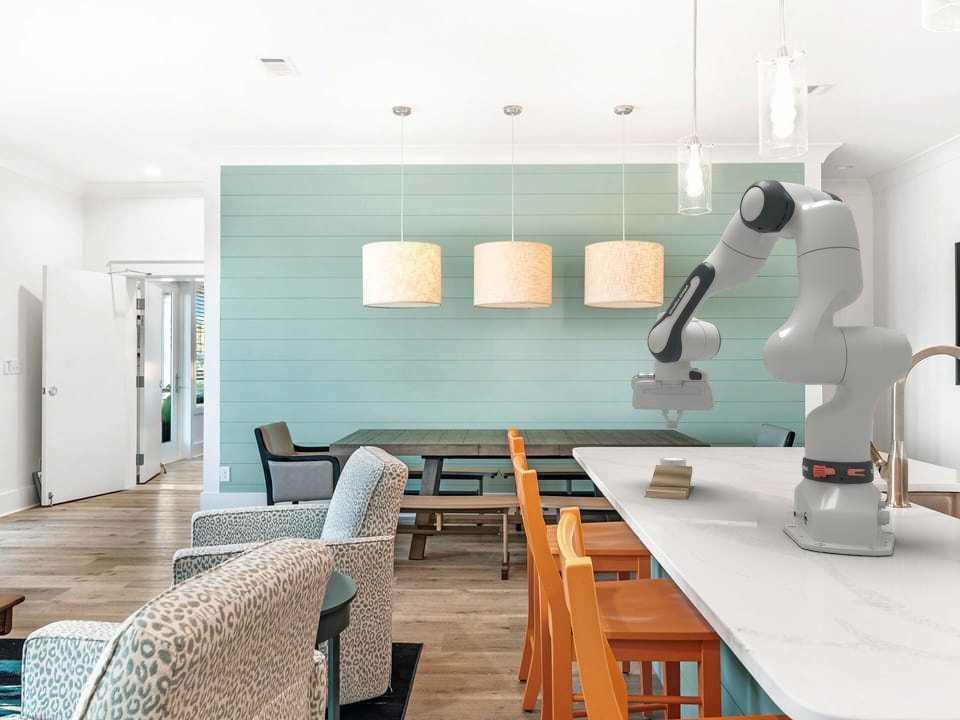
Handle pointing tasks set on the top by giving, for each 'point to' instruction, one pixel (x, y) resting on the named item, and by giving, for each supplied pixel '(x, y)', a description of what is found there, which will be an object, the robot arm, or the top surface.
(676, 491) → the laid strip
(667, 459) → the white ramekin cup
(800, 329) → the robot arm
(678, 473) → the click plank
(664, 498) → the block
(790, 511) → the top surface
